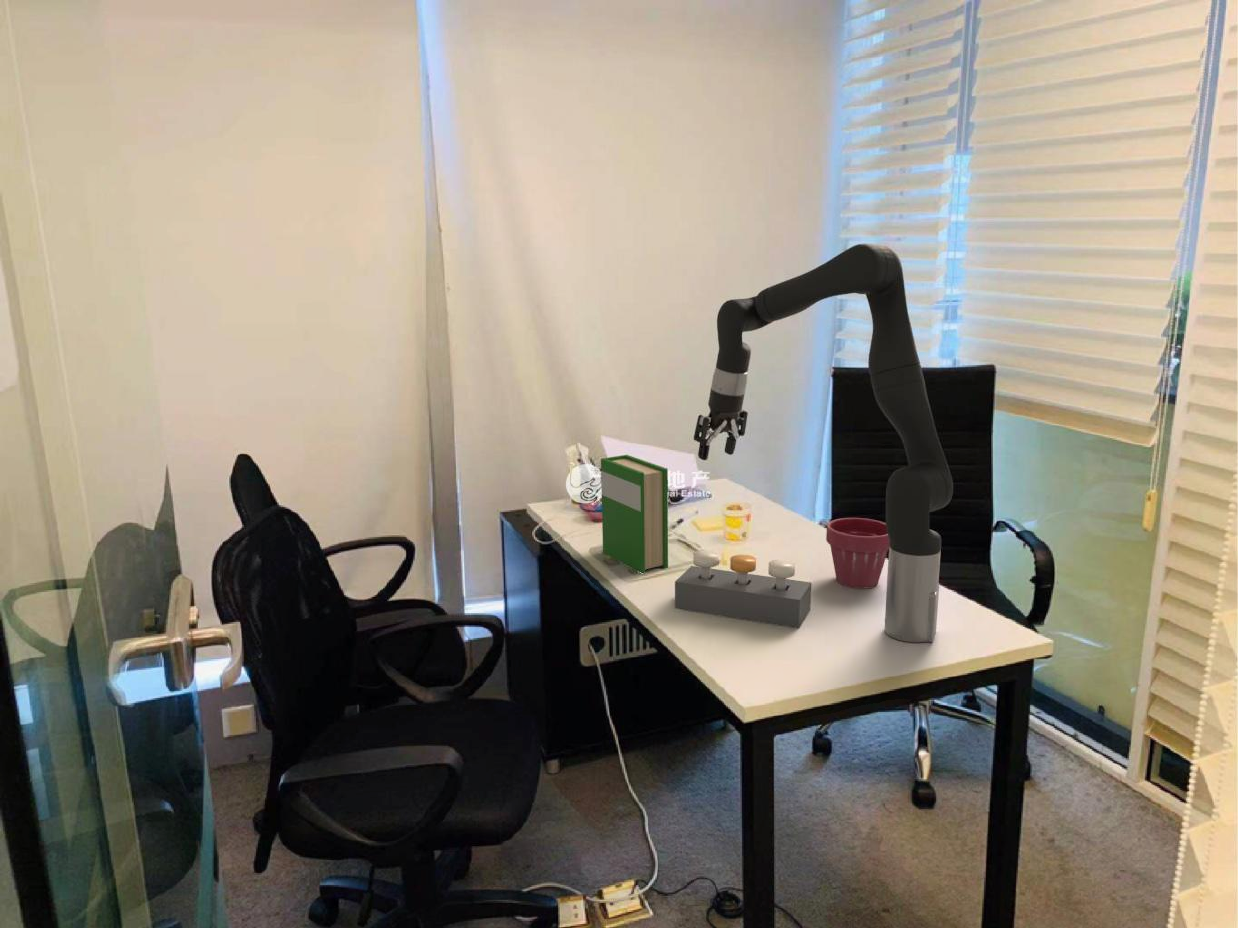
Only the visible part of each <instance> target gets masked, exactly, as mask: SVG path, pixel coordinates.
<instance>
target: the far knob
mask: <svg viewBox="0 0 1238 928" xmlns="http://www.w3.org/2000/svg"><path fill="white" fill-rule="evenodd" d="M692 554H693V558H692V559H693V562H692V563H693V566H695V567H701V579H706V580H711V569H712V568H715V567H717V566H718V565H719V561H720V560H719V556H720V555H719V553H718V552H717V551H716V550H712V549H711V550H710V549H700V550H696V551H694V552H693V553H692Z"/></svg>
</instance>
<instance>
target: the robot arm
mask: <svg viewBox="0 0 1238 928" xmlns="http://www.w3.org/2000/svg"><path fill="white" fill-rule="evenodd" d="M903 271H904V270H903V267H902V262H901V259H900V257H899V255H898V253H897V252H896V250H894V249H893V248H892V247H890V246H888V245H887V244H881V243H880V244H879V243H878V244H877V243H858V244H855V245H852V246H851V247H849V248H847V249H846V250H844V251H842V252H841V253H839V254H837V255H835V256H834V257H832V258H831V259H829V260H828V261H826V262H825V263H823V264H821V265H819V266H817V267H815V268H813V269H811V270H809V271H807V272H804V273H802V274H800V275H798V276H795V277H792V278H790V279H786V280H784V281H781V282H779V283H776V284H774V285H771V286H769V287H766V288H765V289H763V290H761V291H760V292H759V293H758V294H757V295H755V296H751V297H748V298H737V299H736V298H734V299H729V300H726V301H725V302H724V303H722V304H721V306H720V308H719V310H718V312H717V317H716V327H717V329H716V330H717V342H718V352H717V353H718V354H717V358H716V364H715V368H714V371H713V375H712V381H711V384H710V392H709V397H708V403H707V405H708V408H709V412H708V413H709V414H708V415H706V416H704V415H703V414H699V415H698V417H697V421H696V425H695V430H694V434H693V441H695V442H698V443H699V448H698V452H697V455H698V458H699V459H700V460H703V461H707V460H708V459H709V452H710V447H711V443H712V442H713V440H714V439H716V438H717V437H718V436H719V434H722V433H727V437H726V439H725V440H726V441H725V445H724V453H726V454H727V455H729V456H731V455H734V453H735V450H736V445H737V440H738V439H739V438H740V437H744V436H745V434H746V427H747V420H748V415H749V414H748V411H746V410H744V409H743V404H744V400H745V394H746V390H747V389H746V388H747V383H748V371H749V366H750V361H751V355H752V349H751V347H750V345H749V344H747V343H746V342H743V333H746V332H753V331H756V330H759V329H762V328H764V327H766V326H769V325H770V324H772V323H773V322H775V321H780V320H783V319H786V318H788V317H793V316H794V315H796V314H797V315H798V314H799V313H801V312H803V311H805V310H807V309H809V308H810V307H812V306H814V305H815V304H816V303H818V302H821V301H822V300H825V299H829V298H832V297H835V296H842V295H849V294H857V295H865V296H866V299H867V302H868V306H869V310H870V315H871V321H872V333H871V341H870V346H869V354H868V361H867V362H868V363H867V364H868V373H869V374H868V375H869V377H870V378H869V379H870V383H871V386H872V390H873V395H874V399H875V401H876V403H877V405H878V407H879V409H880V410H881V411H882V413H883V415H884V416H885V417H886V419H887V420H888V421H889V422H890V424H891V425H892V426H893V428H894V429H895V431H896V432H897V433H898V435H899V437H900V439H901V441H902V444H903V447H904V449H905V453H906V458H907V459H906V460H907V463H908V465H907V466H904V467H901V468H898V469H897V470H894V472H892V473H891V475H890V477H889V478H888V481H887V484H886V489H885V490H886V491H885V523H886V530H887V534H888V536H889V549H888V561H887V562H888V563H887V576H886V577H887V581H886V592H885V593H886V596H885V597H886V598H885V611H884V612H885V615H884V633H885V634H886V635H888V636H889V637H891V638H892V639H895V640H898V641H901V642H906V643H924V642H928V643H933V642H934V640H935V636H936V632H937V623H938V612H939V611H938V607H939V597H940V596H939V592H940V584H939V580H940V579H939V577H940V567H941V566H940V565H941V553H942V552H941V550H942V537H941V534H939V533H938V532H937V531H934V530H933V529H930V513H932V512H936V511H938V510H941V509H943V508H945V507H946V506H948V505H949V503H950V502H951V500H952V498H953V495H954V483H953V477H952V474H951V470H950V468H949V464H948V462H947V459H946V456H945V453H944V451H943V448H942V444H941V441H940V439H939V436H938V432H937V429H936V425H935V422H934V421H935V420H934V415H933V413H932V409H931V405H930V402H929V398H928V392H927V388H926V383H925V378H924V373H923V368H922V366H921V361H920V359H919V355H918V350H917V346H916V342H915V336H914V333H913V328H912V324H911V320H910V317H909V315H910V314H909V311H908V305H907V304H908V303H907V296H906V288H905V287H906V286H905V277H904V272H903ZM710 429H711V430H710Z"/></svg>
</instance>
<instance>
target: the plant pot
mask: <svg viewBox="0 0 1238 928" xmlns="http://www.w3.org/2000/svg"><path fill="white" fill-rule="evenodd" d="M825 541H826V542H827V544H828V545H829V546H830V551H831V557H832V563H833V568H834V569H833V570H834V573H835V579H836V581H837V582H838V583H839V584H840V585H843V586H845V587H848V588H854V589H871V588H874V587H876V586H877V585H878V583H879V582H880V581H879V580H880V577H881V574H882V571H883V568H884V565H885V561H886V557H887V554H888V553H889V536H888V534H887V530H886V522H883V521H880V520H875V519H871V518H865V517H864V518H861V517H843V518H837V519H834V520H831V521H829V522H828V523H827V524H826V536H825Z"/></svg>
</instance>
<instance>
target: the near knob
mask: <svg viewBox="0 0 1238 928" xmlns="http://www.w3.org/2000/svg"><path fill="white" fill-rule="evenodd" d="M795 573H796V564H795V562H793V561H792V560H787V559H774V560H771V561H769V562H768V575H769V576H770V577H775V578H776V590H782V591H786V579H790V578H792V577H794V576H795V575H796V574H795Z"/></svg>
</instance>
